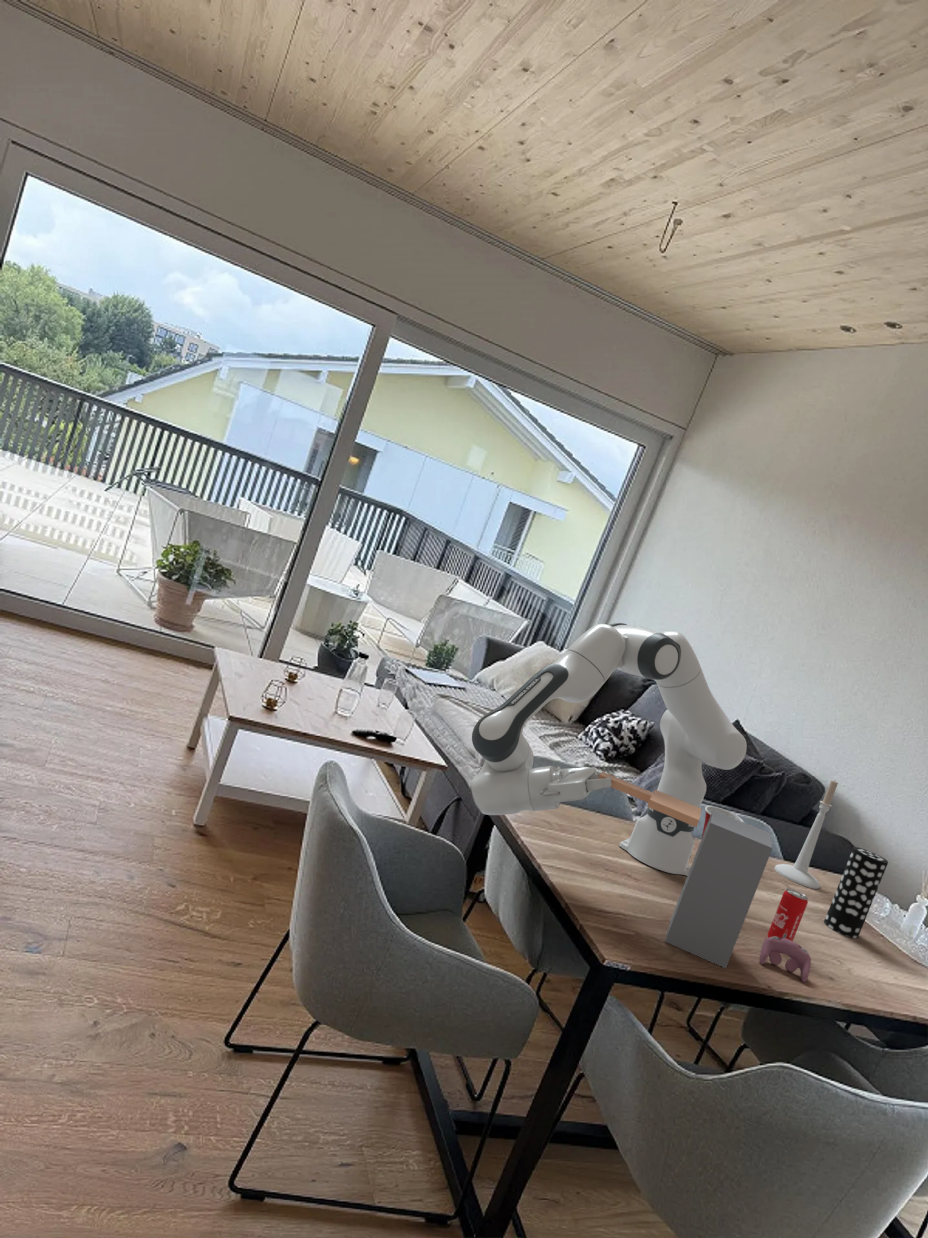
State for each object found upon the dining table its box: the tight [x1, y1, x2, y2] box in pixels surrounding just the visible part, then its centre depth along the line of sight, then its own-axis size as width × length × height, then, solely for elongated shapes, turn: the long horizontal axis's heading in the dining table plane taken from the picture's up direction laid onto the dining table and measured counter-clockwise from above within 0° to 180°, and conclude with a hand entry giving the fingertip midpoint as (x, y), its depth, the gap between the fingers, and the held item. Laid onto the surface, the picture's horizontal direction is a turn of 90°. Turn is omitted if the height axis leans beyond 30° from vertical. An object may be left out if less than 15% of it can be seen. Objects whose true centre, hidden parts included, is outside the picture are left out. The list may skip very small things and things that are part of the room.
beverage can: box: [767, 887, 809, 942], centre depth 206 cm, size 5×5×12 cm
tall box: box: [665, 810, 774, 969], centre depth 188 cm, size 13×12×25 cm
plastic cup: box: [701, 805, 745, 837], centre depth 263 cm, size 11×11×12 cm
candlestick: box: [774, 780, 839, 890], centre depth 269 cm, size 13×13×30 cm
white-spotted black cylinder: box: [823, 846, 889, 939], centre depth 233 cm, size 8×8×20 cm
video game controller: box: [759, 936, 812, 983], centre depth 192 cm, size 10×5×7 cm, turn 72°
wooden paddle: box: [598, 771, 702, 828], centre depth 192 cm, size 12×21×2 cm, turn 72°
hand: (613, 779), depth 194 cm, fingers closed on wooden paddle, 4 cm apart
